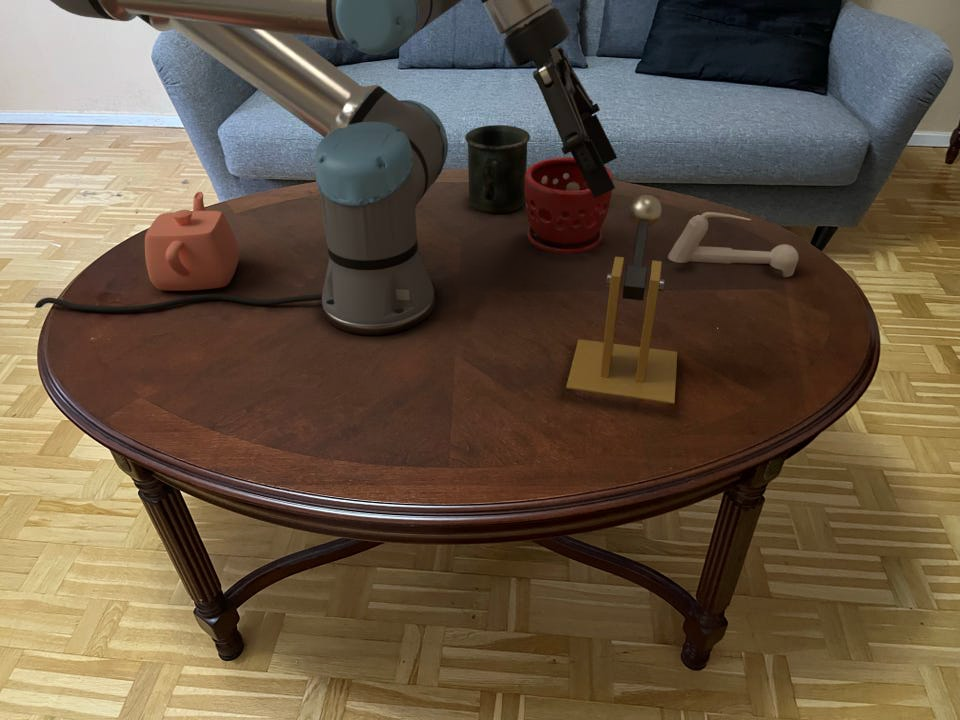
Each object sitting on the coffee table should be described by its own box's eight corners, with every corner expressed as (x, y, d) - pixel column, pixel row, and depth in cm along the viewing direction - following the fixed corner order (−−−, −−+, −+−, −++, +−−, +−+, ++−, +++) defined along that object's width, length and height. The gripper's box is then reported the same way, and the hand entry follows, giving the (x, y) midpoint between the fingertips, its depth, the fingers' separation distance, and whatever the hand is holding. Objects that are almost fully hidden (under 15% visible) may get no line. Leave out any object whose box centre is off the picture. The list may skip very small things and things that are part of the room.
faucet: (777, 305, 106) (816, 249, 100) (668, 263, 105) (701, 205, 99) (772, 291, 109) (810, 237, 104) (666, 251, 108) (698, 193, 102)
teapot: (142, 308, 99) (119, 240, 93) (178, 249, 113) (160, 186, 107) (226, 305, 99) (209, 236, 93) (251, 246, 114) (237, 183, 108)
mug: (531, 192, 130) (534, 126, 123) (520, 226, 119) (522, 155, 112) (473, 188, 132) (472, 123, 125) (456, 222, 120) (454, 152, 113)
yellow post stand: (577, 348, 90) (586, 241, 81) (675, 361, 87) (695, 252, 79) (565, 397, 82) (573, 284, 73) (672, 413, 79) (694, 298, 71)
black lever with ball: (630, 208, 84) (632, 186, 81) (661, 210, 83) (664, 189, 80) (615, 300, 78) (617, 282, 75) (649, 304, 78) (652, 285, 74)
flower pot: (506, 240, 114) (507, 168, 107) (570, 220, 120) (575, 150, 113) (557, 273, 106) (562, 196, 99) (623, 249, 111) (632, 175, 104)
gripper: (545, 14, 74) (633, 193, 81) (564, -5, 95) (633, 138, 102) (483, 53, 77) (574, 221, 84) (515, 26, 98) (585, 163, 105)
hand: (606, 176), depth 93 cm, fingers open, 13 cm apart
